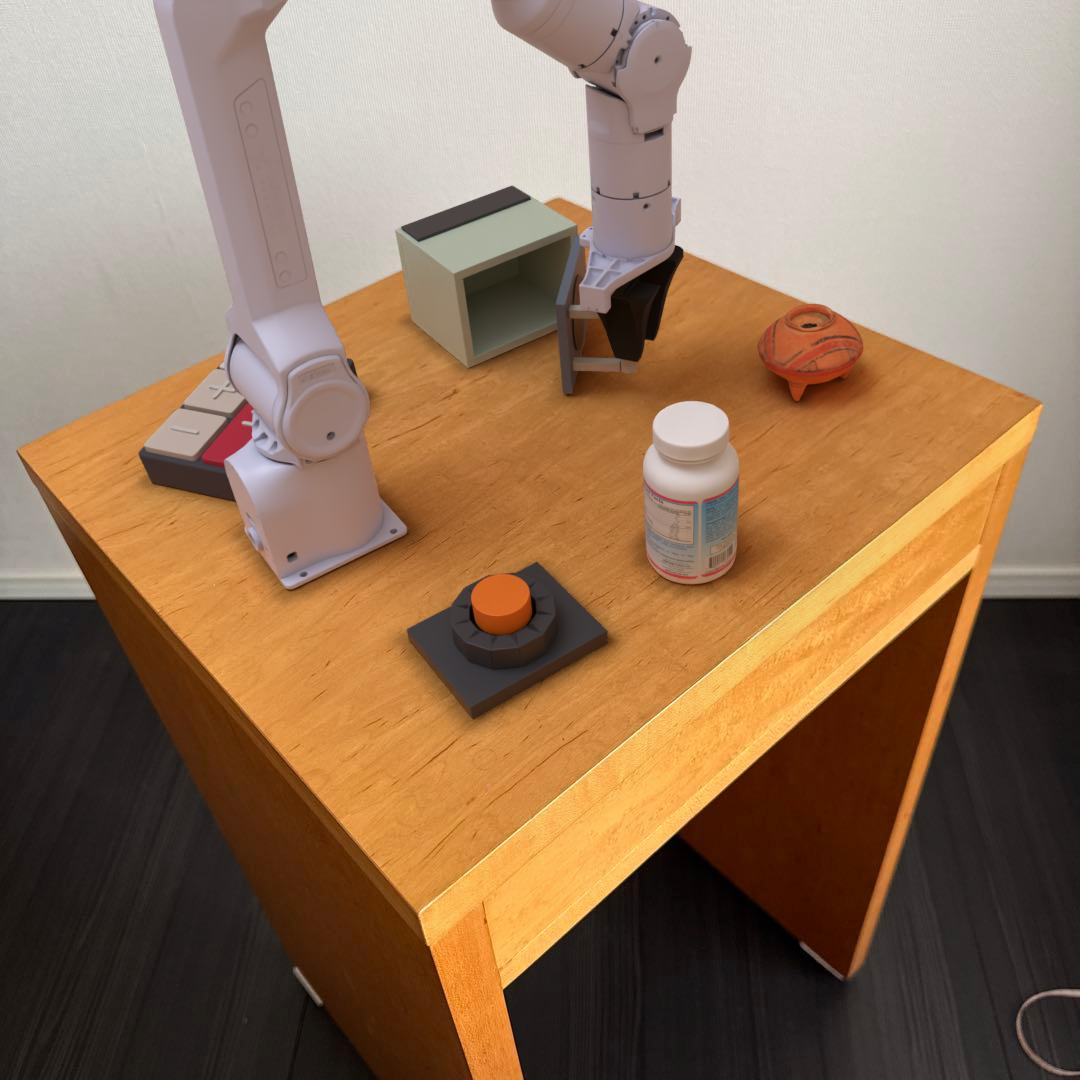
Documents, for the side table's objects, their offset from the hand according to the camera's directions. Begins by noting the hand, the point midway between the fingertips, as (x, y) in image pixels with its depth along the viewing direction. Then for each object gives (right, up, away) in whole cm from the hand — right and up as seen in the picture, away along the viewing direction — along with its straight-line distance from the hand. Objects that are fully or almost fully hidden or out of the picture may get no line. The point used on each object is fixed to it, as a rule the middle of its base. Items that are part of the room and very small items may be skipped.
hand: (635, 346), depth 88 cm
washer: (-11, +4, +12) cm, 17 cm away
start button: (-10, -20, -19) cm, 29 cm away
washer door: (-2, 0, +6) cm, 6 cm away
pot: (+14, -3, +1) cm, 14 cm away
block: (-10, -22, -17) cm, 29 cm away
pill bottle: (+3, -16, -12) cm, 21 cm away
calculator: (-30, -7, +2) cm, 31 cm away
